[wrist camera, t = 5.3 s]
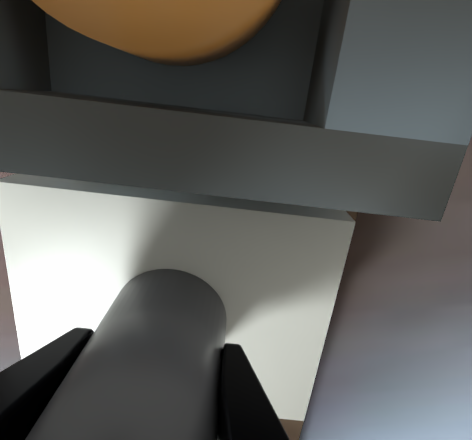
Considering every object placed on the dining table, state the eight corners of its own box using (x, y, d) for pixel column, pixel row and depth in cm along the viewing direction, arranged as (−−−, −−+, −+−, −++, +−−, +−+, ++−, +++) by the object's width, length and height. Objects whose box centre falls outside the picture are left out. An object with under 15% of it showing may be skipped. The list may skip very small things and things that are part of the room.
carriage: (293, 364, 13) (351, 679, 6) (65, 340, 13) (-152, 633, 6) (331, 195, 10) (510, 392, 3) (48, 163, 10) (-371, 300, 3)
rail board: (272, 504, 20) (287, 717, 13) (81, 486, 20) (-6, 692, 13) (420, -108, 10) (864, -627, 3) (23, -159, 10) (-579, -861, 3)
